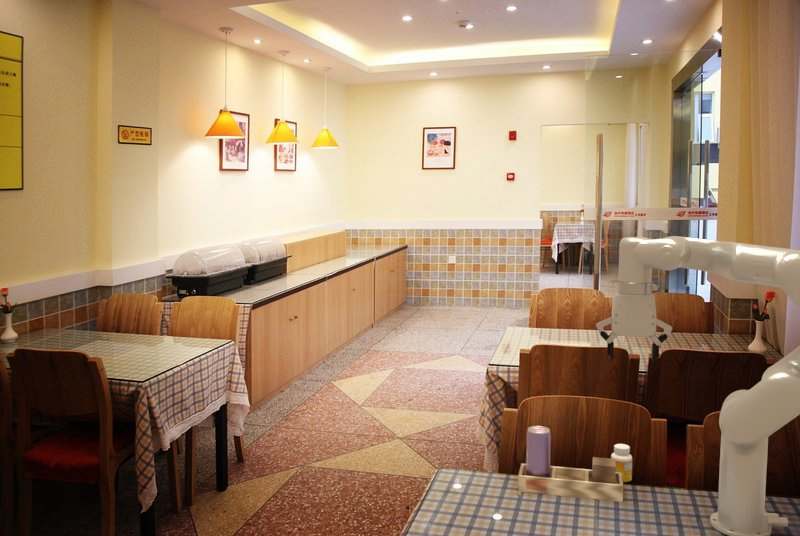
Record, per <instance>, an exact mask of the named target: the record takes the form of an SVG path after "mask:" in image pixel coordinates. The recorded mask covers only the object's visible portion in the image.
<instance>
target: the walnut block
mask: <svg viewBox="0 0 800 536" xmlns="http://www.w3.org/2000/svg"><path fill="white" fill-rule="evenodd" d="M591 467H592V469H591V470H592V482H599V483H610V484H616V463H615V459H611V458H607V457H596V456H592V466H591Z"/></svg>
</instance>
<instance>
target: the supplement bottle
mask: <svg viewBox="0 0 800 536" xmlns="http://www.w3.org/2000/svg"><path fill="white" fill-rule="evenodd" d="M630 452H631V447H630V445H628V444H625V443H616V444H614V445H613V452H612V453H611V455H610V459H615V463H616V472H621V473H622V480H623V483H627V482H628V483H629V482H631V481H632V479H633V456H632V454H630Z"/></svg>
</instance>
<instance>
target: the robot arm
mask: <svg viewBox="0 0 800 536" xmlns="http://www.w3.org/2000/svg"><path fill="white" fill-rule="evenodd" d="M618 247H619V248H618V276H617V277H618V278H617V279H618V282H617V283H618V285H617V287H618V288H617V293H614V295H613V300H612V309H611V316H610V317H607V318H605V319H603V320H601V321H599V322H596V324H595V327H596V329H597V331H598V333H599V335H600V337H601V338H603V340H605V341H606V342H607V343H606V344H607V346H606V350H607V351H606V355H607V356H609V360H610V361H613V360H614V358H615V357H614V353H615V352H614V351H615V342H614V341H615V339H616V338H617V337H626V338H629V337H631V338H650V339H651V341H652V344H651V361H652V362H653V363H656V362H657V359H659V358H660V346H661V344H663V342H665V341H666V340H667V339H668V337H669V336H670V334H671V332H672V331H673V327H672V326H671V325H669V324H667V323H665V322H664V321H662V320H660V319H658V318H657V307H656V299H655V295H654V294H652V292H655V291H658V290H659V285H658V284H655V283H653V282H652V279H653V278H652V273H653V269H656V270H662V271H673V270H677V269H678V268H680V269H688V270H695V271H702V272H707V273H712V274H715V275H718V276H720V277H722V278H724V279H727V280H729V281H734V282H738V283H739V282H740V283H748V284H756V285H761V286H762V285H763V286H769V287H776V288H780V289H782V291H783V292H784V293H785V295H786V296H787V297H788V298H789V299H790V301H791V302H793V304H795V306H796V307H797V308H798V309H799V310H800V250H799V249H793V248H792V249H791V248H785V247H775V246H769V245H767V246H766V245H759V244H752V243H751V244H750V243H744V242H743V243H742V242H734V241H721V240H720V241H719V240H712V239H711V240H710V239H704V238H703V239H702V238H696V237H695V238H694V237H687V236H679V235H678V236H677V235H672V236H667V237H666V236H665V237H663V238H661V237H660V238H653V239H652V238H649V237H645V236H642V237H641V236H626V237H623V238H621V239H620V241H619V246H618ZM608 325H610V329H611V332H610V333H609V334H608V333H607V332H606V331H605V330H604V327H606V326H608ZM657 326H658V327H660V328H662V329H663V330H664V331H663V332H662V334H660V335H659V336H657V335H656V334H657ZM798 416H800V345H798V346H797V347H796V348H795V349H794V350H792V351H791V352H789V353H788V354H787V355H785V356H784V357H783V358H781V359H780V360H778V361H776V362H775V363H774V364H773V365H771V366H769V367H767V369H766V370H765V371H763V374H762V376H761V380H760V381H758V382H757V383H756V384H755V385H754V386H753V387H751V388H750V389H739V390H738V389H737V390H736V391H732V392H731V393H730V394H728V396H726V398H725V399H724V401H723V403H722V406H721V408H720V412H719V418H718V419H719V421H718V423H719V429H720V431H721V436H720V454H719V455H720V457H719V476H718V477H719V478H718V493H717V494H718V495H717V496H718V497H717V498H718V500H717V501H718V502H717V511H716V512H714V513H711V515H710V516H709V523H710V525H711V527H713V529H715V530H716V531H718V532H720V533H722V534H724V535H726V536H771V535H772V527H773V526H778V527H786V528H787V527H788V526H789V520H788V517H782V516H780V515H779V513H775V512H773V513H771V512H768V511H767V510H766V508H765V506H766V503H765V502H766V487H767V486H766V485H767V466H768V452H769V451H768V449H769V448H768V447H769V446H768V445H769V437H770V436H771V435H773V434H774V433H775V432H777V431H778V430H780V429H781V428H782V427H784V426H785V425H787V424H789V422H791V421H793V420H794V419H795V418H797V417H798Z"/></svg>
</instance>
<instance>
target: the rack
mask: <svg viewBox="0 0 800 536" xmlns="http://www.w3.org/2000/svg"><path fill="white" fill-rule="evenodd" d="M519 467H520V468H519V471H518V476H517V495H518V496H522V493H530V494H537V495H538V494H540V495H548V496H549V495H551V496H561V497H567V498H568V497H570V498H577V499H578V498H579V499H588V500H599V501H608V502H609V501H611V502H617V503H618V502H620V503H624V482H623V480H622V473H621V472H616V484H610V483H599V482H592V469H587V468H577V467H568V466H567V467H566V466H558V465H557V466H554V465H550V478H546V477H536V476H526V463H522V462H521V463H520V466H519Z"/></svg>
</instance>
